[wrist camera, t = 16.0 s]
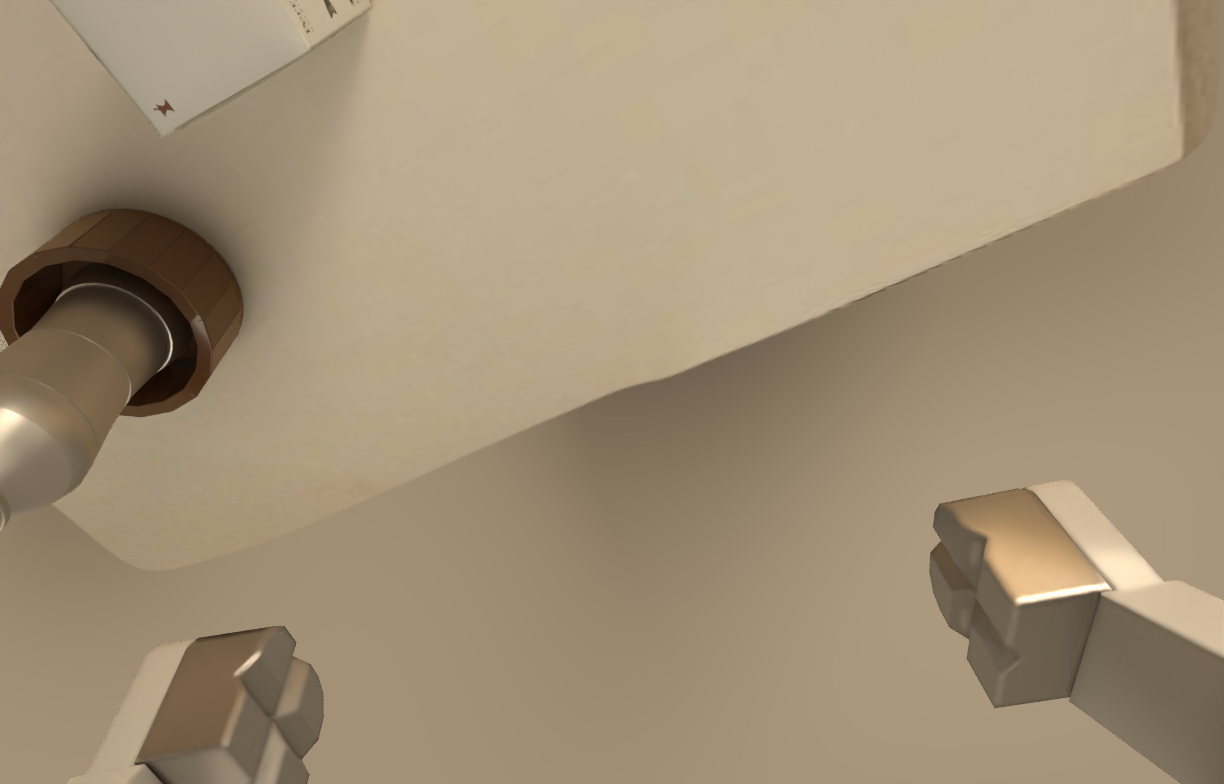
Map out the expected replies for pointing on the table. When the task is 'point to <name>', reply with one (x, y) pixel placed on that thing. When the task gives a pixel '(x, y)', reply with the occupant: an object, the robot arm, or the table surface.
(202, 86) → the white packaging box
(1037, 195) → the table surface
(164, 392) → the cup
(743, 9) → the table surface
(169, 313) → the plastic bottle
